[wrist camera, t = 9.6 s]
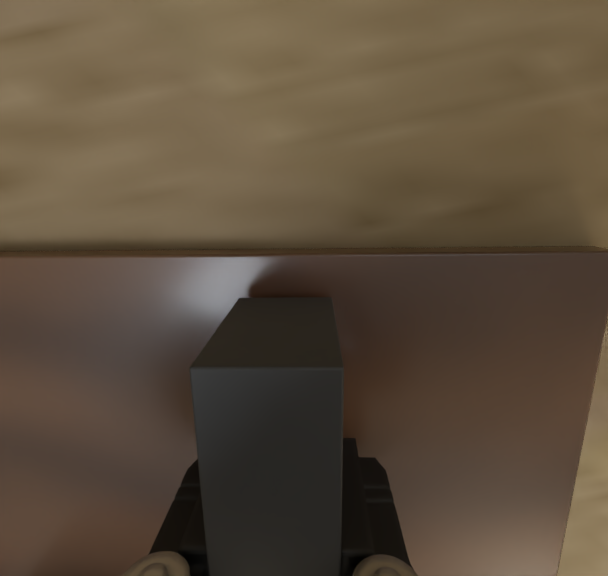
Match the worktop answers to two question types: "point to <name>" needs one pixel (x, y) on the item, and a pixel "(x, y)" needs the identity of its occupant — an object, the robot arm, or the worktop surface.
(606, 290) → the cake board
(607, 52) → the worktop surface
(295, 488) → the knife
